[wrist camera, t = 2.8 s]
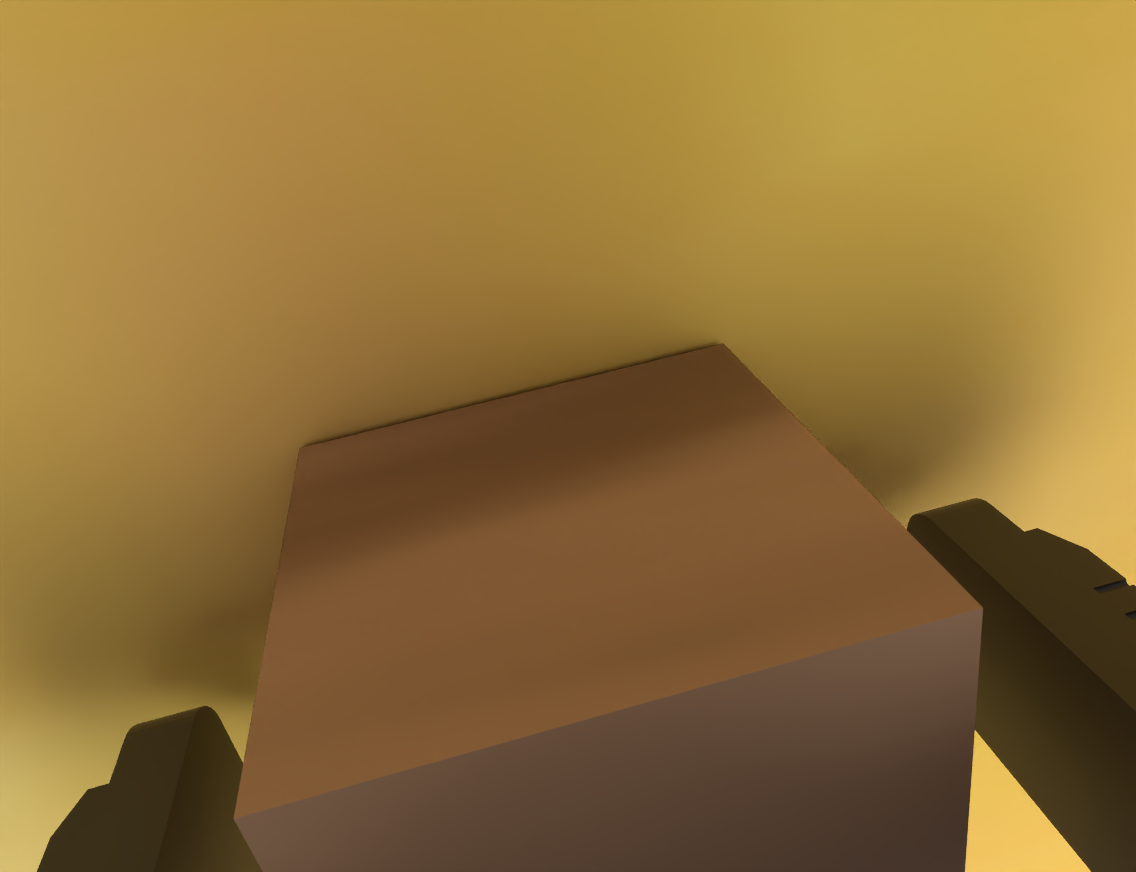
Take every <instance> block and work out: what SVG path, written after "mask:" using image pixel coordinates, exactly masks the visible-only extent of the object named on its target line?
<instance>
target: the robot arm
mask: <svg viewBox="0 0 1136 872" xmlns="http://www.w3.org/2000/svg"><path fill="white" fill-rule="evenodd" d="M907 531H908V532H909V533H910V534H911V535H912V536H913V537H914V538H915V539H916V540H917V541H918V542H919V543H920V544H921V545H922V546H923V547H924V548H925V549H926V550H927V551H928V552H929V553H930V554H931V555H932V556H933V557H934V558H935V559H936V560H937V561H938V562H939V563H940V564H941V565H942V566H943V567H944V568H945V569H946V570H947V572H948V573H949V574H950V575H951V576H952V577H953V578H954V579H955V580H956V581H957V582H958V583H959V584H960V585H961V586H962V587H963V588H964V589H965V590H966V591H967V592H968V593H969V594H970V595H971V596H972V597H973V598H974V599H975V600H976V601H977V602H978V603H979V604H980V605H981V606H982V607H983V616H982V630H981V645H980V659H979V674H978V688H977V702H976V717H975V730H976V731H977V733H978V734H979V735H980V736H981V738H982V739H983V740H984V741H985V742H986V744H987V745H988V746H989V747H990V748H991V750H992V751H993V752H994V753H995V755H996V756H997V757H998V758H999V759H1000V761H1001V762H1002V763H1003V764H1004V766H1005V767H1006V768H1007V769H1008V770H1009V772H1010V773H1011V774H1012V775H1013V777H1014V778H1015V779H1016V780H1017V781H1018V783H1019V784H1020V785H1021V786H1022V788H1023V789H1024V790H1025V791H1026V792H1027V794H1028V795H1029V796H1030V797H1031V798H1032V800H1033V801H1034V802H1035V803H1036V805H1037V806H1038V807H1039V808H1040V809H1041V811H1042V812H1043V813H1044V814H1045V816H1046V817H1047V818H1048V819H1049V820H1050V822H1051V823H1052V824H1053V825H1054V827H1055V828H1056V829H1057V830H1058V831H1059V833H1060V834H1061V835H1062V836H1063V838H1064V839H1065V840H1066V841H1067V842H1068V844H1069V845H1070V846H1071V847H1072V848H1073V850H1074V851H1075V852H1076V853H1077V855H1078V856H1079V857H1080V858H1081V859H1082V861H1083V862H1084V863H1085V864H1086V866H1087V867H1088V868H1089V869H1090V870H1091V872H1136V586H1135V585H1131V586H1129V585H1128V584H1127V582H1126V578H1124V577H1123V576H1122V575H1120V574H1119V573H1118V572H1116V571H1115V570H1114V569H1113V568H1111V567H1110V566H1109V565H1107V564H1106V563H1105V562H1103V561H1102V560H1101V559H1100V558H1098V557H1097V556H1096V555H1094V554H1093V553H1092V552H1090V551H1089V550H1088V549H1086V548H1084V547H1081V546H1079V545H1076V544H1074V543H1072V542H1069V541H1067V540H1064V539H1062V538H1060V537H1057V536H1055V535H1052V534H1050V533H1048V532H1045V531H1043V530H1040V529H1038V528H1036V529H1033V530H1029V531H1026V532H1024V531H1023V530H1021V529H1020V528H1019V527H1018V526H1016V525H1015V524H1014V523H1013V522H1012V521H1010V520H1009V519H1008V518H1007V517H1005V516H1004V515H1003V514H1002V513H1001V512H999V511H998V510H997V509H996V508H994V507H993V506H992V505H991V504H989V503H988V502H986V501H984V500H982V499H978V498H975V499H970V500H966V501H963V502H959V503H955V504H952V505H948V506H944V507H941V508H937V509H933V510H930V511H926V512H922V513H919V514H915V515H914V516H912V517H911V519H910V520H909V523H908V527H907ZM242 768H243V762H242V760H241V759H240V757H239V755H238V753H237V751H236V749H235V747H234V745H233V743H232V741H231V739H230V737H229V735H228V733H227V731H226V729H225V728H224V726H223V724H222V722H221V720H220V718H219V716H218V715H217V713H216V712H215V711H214V710H213V709H212V708H211V707H208V706H203V707H199V708H195V709H192V710H188V711H184V712H181V713H177V714H173V715H170V716H166V717H162V718H159V719H155V720H151V721H148V722H144V723H140V724H137V725H135V726H133V727H132V728H131V729H130V730H129V732H128V733H127V735H126V737H125V740H124V743H123V745H122V748H121V751H120V754H119V757H118V760H117V763H116V765H115V768H114V771H113V774H112V777H111V780H110V783H109V784H106V785H102V786H98V787H95V788H91V789H88V790H87V791H86V792H85V794H84V795H83V796H82V798H81V799H80V800H79V801H78V803H77V804H76V805H75V807H74V808H73V809H72V811H71V812H70V813H69V814H68V816H67V817H66V818H65V820H64V821H63V822H62V823H61V825H60V826H59V827H58V829H57V830H56V831H55V833H54V834H53V835H52V836H51V838H50V840H49V843H48V845H47V848H46V850H45V853H44V855H43V858H42V860H41V863H40V865H39V868H38V870H37V872H263V871H262V869H261V868H260V866H259V864H258V862H257V860H256V859H255V857H254V855H253V853H252V851H251V850H250V848H249V846H248V844H247V842H246V841H245V839H244V837H243V835H242V833H241V831H240V830H239V828H238V826H237V824H236V822H235V821H234V813H235V808H236V802H237V796H238V791H239V785H240V780H241V774H242Z"/></svg>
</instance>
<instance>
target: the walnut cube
mask: <svg viewBox="0 0 1136 872" xmlns="http://www.w3.org/2000/svg"><path fill="white" fill-rule="evenodd" d="M982 616H983V607H982V606H981V605H980V604H979V603H978V602H977V601H976V600H975V599H974V598H973V597H972V596H971V595H970V594H969V593H968V592H967V591H966V590H965V589H964V588H963V587H962V586H961V585H960V584H959V583H958V582H957V581H956V580H955V579H954V578H953V577H952V576H951V575H950V574H949V573H948V572H947V570H946V569H945V568H944V567H943V566H942V565H941V564H940V563H939V562H938V561H937V560H936V559H935V558H934V557H933V556H932V555H931V554H930V553H929V552H928V551H927V550H926V549H925V548H924V547H923V546H922V545H921V544H920V543H919V542H918V541H917V540H916V539H915V538H914V537H913V536H912V535H911V534H910V533H909V532H908V531H907V530H906V529H905V528H904V527H903V526H902V525H901V524H900V523H899V522H898V521H897V520H896V519H895V518H894V517H893V516H892V515H891V514H890V513H889V512H888V511H887V510H886V509H885V508H884V507H883V505H882V504H881V503H880V502H879V501H878V500H877V499H876V498H875V497H874V496H873V495H872V494H871V493H870V492H869V491H868V490H867V489H866V488H865V487H864V486H863V485H862V484H861V483H860V482H859V481H858V480H857V479H856V478H855V477H854V476H853V475H852V474H851V473H850V472H849V471H848V470H847V469H846V468H845V467H844V466H843V465H842V464H841V463H840V462H839V461H838V460H837V459H836V458H835V457H834V456H833V455H832V454H831V453H830V452H829V451H828V450H827V449H826V448H825V447H824V446H823V445H822V444H821V443H820V442H819V441H818V439H817V438H816V437H815V436H814V435H813V434H812V433H811V432H810V431H809V430H808V429H807V428H806V427H805V426H804V425H803V424H802V423H801V422H800V421H799V420H798V419H797V418H796V417H795V416H794V415H793V414H792V413H791V412H790V411H789V410H788V409H787V408H786V407H785V406H784V405H783V404H782V403H781V402H780V401H779V400H778V399H777V398H776V397H775V396H774V395H773V394H772V393H771V392H770V391H769V390H768V389H767V388H766V387H765V386H764V385H763V384H762V383H761V382H760V381H759V380H758V379H757V378H756V377H755V376H754V375H753V373H752V372H751V371H750V370H749V369H748V368H747V367H746V366H745V365H744V364H743V363H742V362H741V361H740V360H739V359H738V358H737V357H736V356H735V355H734V354H733V353H732V352H731V351H730V350H729V349H728V348H727V347H726V346H725V345H724V344H720V345H716V346H712V347H707V348H703V349H699V350H695V351H691V352H687V353H683V354H679V355H675V356H671V357H667V358H663V359H659V360H655V361H651V362H647V363H643V364H639V365H635V366H630V367H626V368H622V369H618V370H614V371H610V372H606V373H602V374H598V375H594V376H590V377H586V378H582V379H578V380H574V381H570V382H566V383H562V384H557V385H553V386H549V387H545V388H541V389H537V390H533V391H529V392H525V393H521V394H517V395H513V396H509V397H505V398H501V399H497V400H493V401H489V402H485V403H480V404H476V405H472V406H468V407H464V408H460V409H456V410H452V411H448V412H444V413H440V414H436V415H432V416H428V417H424V418H420V419H416V420H412V421H408V422H403V423H399V424H395V425H391V426H387V427H383V428H379V429H375V430H371V431H367V432H363V433H359V434H355V435H351V436H347V437H343V438H339V439H335V440H331V441H326V442H322V443H318V444H314V445H310V446H306V447H302V448H300V449H299V455H298V461H297V466H296V472H295V477H294V483H293V489H292V494H291V500H290V505H289V511H288V517H287V522H286V528H285V533H284V539H283V545H282V550H281V556H280V561H279V567H278V573H277V578H276V584H275V589H274V595H273V601H272V606H271V612H270V617H269V623H268V629H267V634H266V640H265V645H264V651H263V657H262V662H261V668H260V673H259V679H258V685H257V690H256V696H255V701H254V707H253V713H252V718H251V724H250V729H249V735H248V741H247V746H246V752H245V757H244V763H243V768H242V774H241V780H240V785H239V791H238V796H237V802H236V808H235V813H234V821H235V822H236V824H237V826H238V828H239V830H240V831H241V833H242V835H243V837H244V839H245V841H246V842H247V844H248V846H249V848H250V850H251V851H252V853H253V855H254V857H255V859H256V860H257V862H258V864H259V866H260V868H261V869H262V871H263V872H965V860H966V846H967V832H968V817H969V803H970V788H971V774H972V760H973V745H974V731H975V717H976V702H977V688H978V674H979V659H980V645H981V630H982Z"/></svg>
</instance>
